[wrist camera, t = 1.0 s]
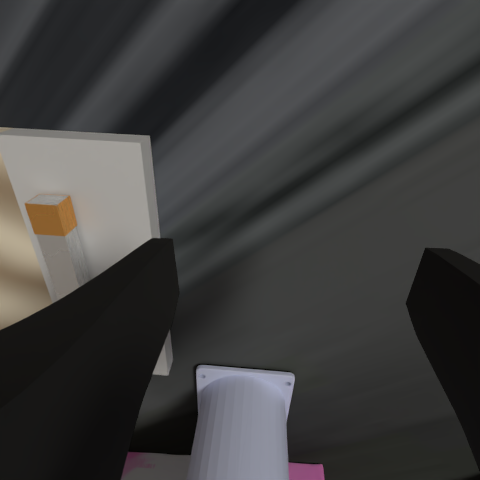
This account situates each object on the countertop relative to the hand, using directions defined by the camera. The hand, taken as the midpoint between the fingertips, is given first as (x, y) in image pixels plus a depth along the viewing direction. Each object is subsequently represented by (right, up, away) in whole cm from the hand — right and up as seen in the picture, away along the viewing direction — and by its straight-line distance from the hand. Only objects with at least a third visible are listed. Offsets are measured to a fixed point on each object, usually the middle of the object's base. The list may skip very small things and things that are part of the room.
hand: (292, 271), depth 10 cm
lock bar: (-12, -2, +11) cm, 16 cm away
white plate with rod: (-10, -1, +12) cm, 16 cm away
